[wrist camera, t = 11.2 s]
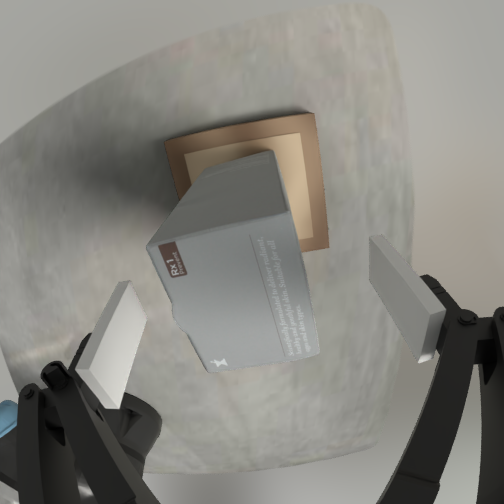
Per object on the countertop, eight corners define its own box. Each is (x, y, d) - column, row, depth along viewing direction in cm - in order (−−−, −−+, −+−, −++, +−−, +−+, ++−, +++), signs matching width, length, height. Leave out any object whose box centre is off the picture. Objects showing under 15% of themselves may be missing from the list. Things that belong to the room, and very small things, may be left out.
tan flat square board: (201, 262, 32) (199, 270, 31) (167, 139, 26) (163, 142, 25) (325, 240, 32) (329, 248, 30) (310, 112, 25) (314, 113, 24)
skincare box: (295, 230, 29) (337, 358, 15) (222, 248, 30) (207, 384, 16) (274, 142, 25) (312, 207, 11) (193, 165, 26) (135, 254, 12)
